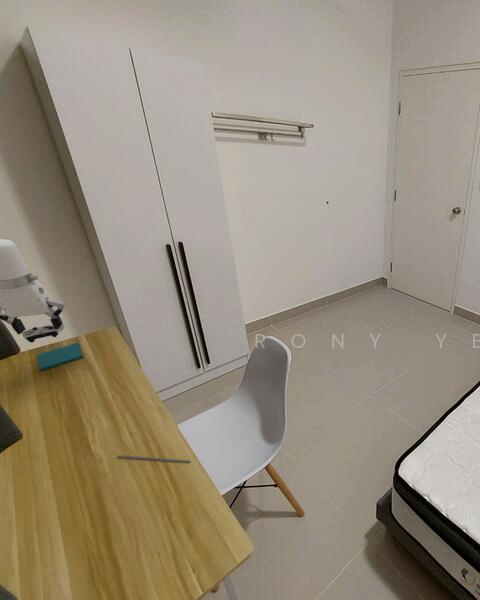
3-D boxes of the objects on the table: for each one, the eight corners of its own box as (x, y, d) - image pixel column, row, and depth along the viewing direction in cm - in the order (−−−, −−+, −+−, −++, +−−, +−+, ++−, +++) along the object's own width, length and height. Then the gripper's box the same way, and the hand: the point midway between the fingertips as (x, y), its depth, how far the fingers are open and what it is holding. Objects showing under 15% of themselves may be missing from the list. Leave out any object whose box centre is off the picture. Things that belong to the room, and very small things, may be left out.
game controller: (64, 324, 112) (58, 318, 107) (68, 338, 111) (62, 333, 106) (24, 332, 106) (15, 327, 101) (28, 347, 106) (19, 343, 101)
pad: (40, 371, 111) (39, 369, 110) (38, 356, 117) (37, 354, 117) (83, 357, 118) (82, 355, 118) (79, 344, 125) (78, 342, 124)
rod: (189, 464, 85) (189, 462, 85) (117, 458, 85) (117, 457, 85) (191, 461, 85) (191, 460, 85) (120, 456, 86) (119, 454, 85)
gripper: (58, 273, 104) (79, 319, 112) (-18, 279, 97) (10, 328, 106) (46, 282, 98) (70, 331, 106) (-35, 289, 91) (-4, 340, 100)
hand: (40, 329), depth 106 cm, fingers closed on game controller, 8 cm apart
